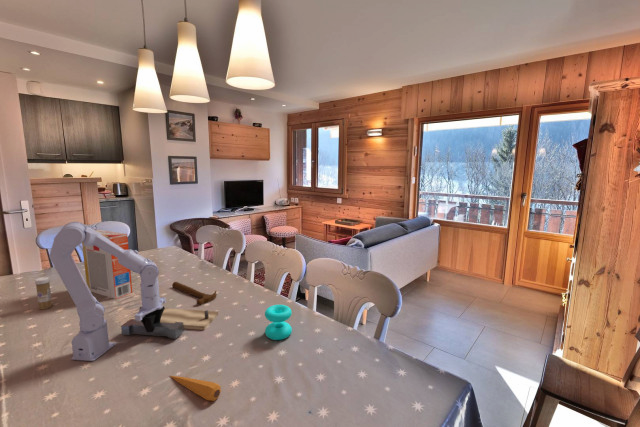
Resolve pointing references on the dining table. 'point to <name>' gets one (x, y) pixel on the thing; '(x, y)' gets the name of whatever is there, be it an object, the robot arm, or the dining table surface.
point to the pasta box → (107, 268)
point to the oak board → (188, 317)
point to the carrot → (200, 387)
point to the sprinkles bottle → (43, 292)
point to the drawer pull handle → (159, 328)
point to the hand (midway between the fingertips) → (152, 329)
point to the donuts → (278, 322)
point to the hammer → (195, 293)
